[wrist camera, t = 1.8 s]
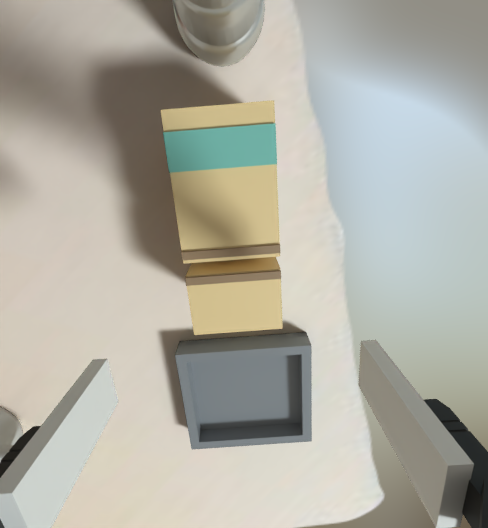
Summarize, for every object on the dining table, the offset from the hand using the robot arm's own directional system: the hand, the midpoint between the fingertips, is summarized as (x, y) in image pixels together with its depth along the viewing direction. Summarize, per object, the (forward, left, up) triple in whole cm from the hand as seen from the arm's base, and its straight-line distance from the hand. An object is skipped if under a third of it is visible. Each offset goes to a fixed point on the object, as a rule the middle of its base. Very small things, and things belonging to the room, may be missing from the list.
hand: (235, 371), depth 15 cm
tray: (+14, 0, -15) cm, 21 cm away
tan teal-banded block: (-9, 0, -15) cm, 18 cm away
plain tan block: (0, 0, -16) cm, 16 cm away
